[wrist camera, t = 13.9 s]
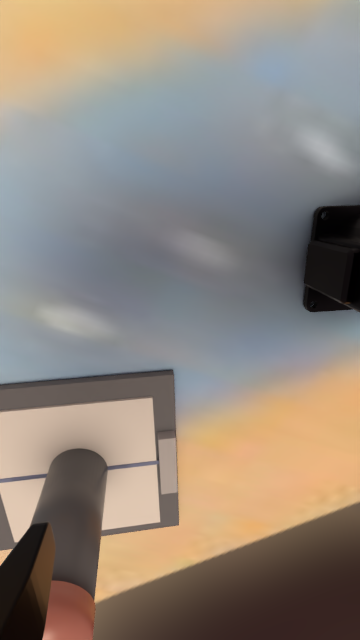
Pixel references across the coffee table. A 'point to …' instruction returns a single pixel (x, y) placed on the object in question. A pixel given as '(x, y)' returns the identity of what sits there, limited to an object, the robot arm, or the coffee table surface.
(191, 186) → the coffee table surface
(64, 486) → the ball
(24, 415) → the grey framed board
